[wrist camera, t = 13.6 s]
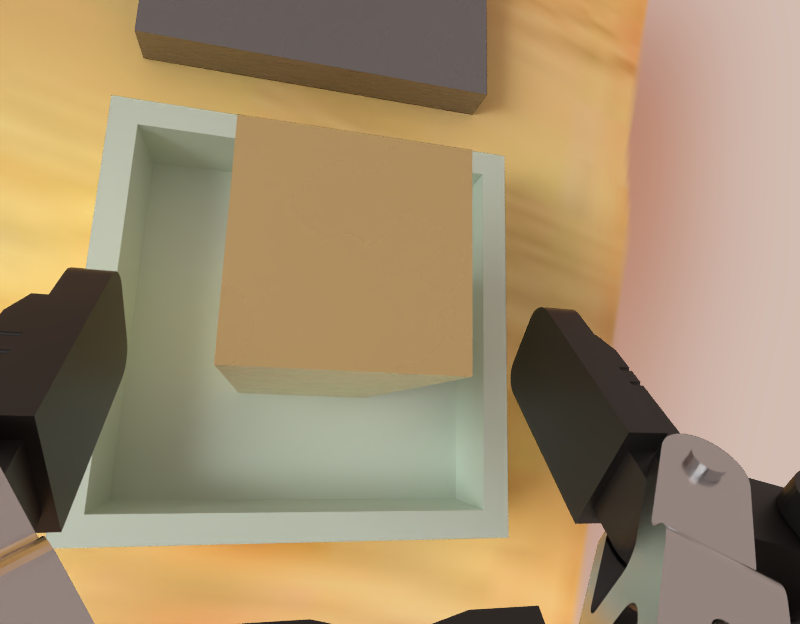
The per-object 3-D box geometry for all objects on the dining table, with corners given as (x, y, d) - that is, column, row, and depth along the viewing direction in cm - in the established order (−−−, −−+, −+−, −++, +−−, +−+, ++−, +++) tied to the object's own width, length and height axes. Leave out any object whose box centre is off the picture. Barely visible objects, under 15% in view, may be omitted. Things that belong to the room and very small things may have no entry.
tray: (86, 522, 17) (44, 548, 14) (137, 150, 19) (111, 95, 16) (466, 517, 20) (508, 537, 17) (467, 195, 22) (504, 156, 19)
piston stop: (238, 393, 18) (214, 364, 8) (249, 269, 19) (237, 114, 9) (364, 397, 19) (472, 376, 9) (369, 280, 20) (472, 150, 10)
